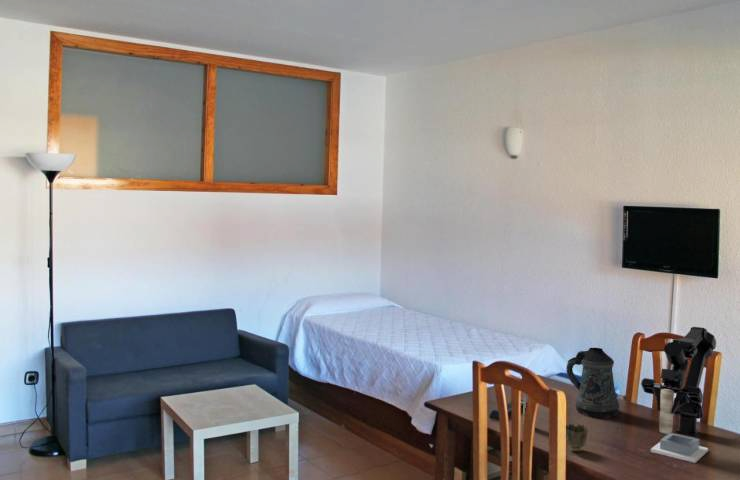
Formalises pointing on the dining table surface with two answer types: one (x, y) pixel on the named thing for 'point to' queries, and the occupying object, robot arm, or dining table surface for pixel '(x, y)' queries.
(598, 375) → the beer stein
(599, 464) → the dining table surface
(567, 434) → the cup
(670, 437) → the socket block
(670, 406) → the peg
